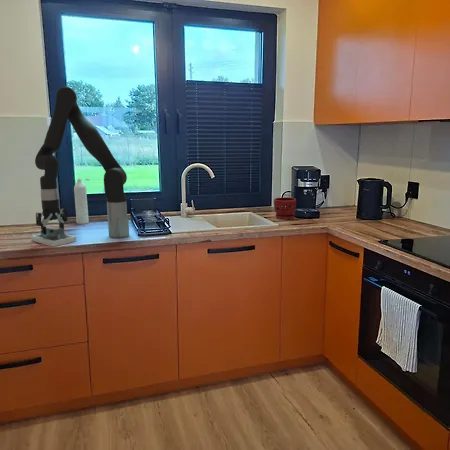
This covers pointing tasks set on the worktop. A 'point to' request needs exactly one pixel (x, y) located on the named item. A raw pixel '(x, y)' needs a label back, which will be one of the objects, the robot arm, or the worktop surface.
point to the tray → (51, 242)
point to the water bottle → (81, 202)
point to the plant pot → (280, 207)
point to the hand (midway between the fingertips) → (53, 232)
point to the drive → (53, 233)
